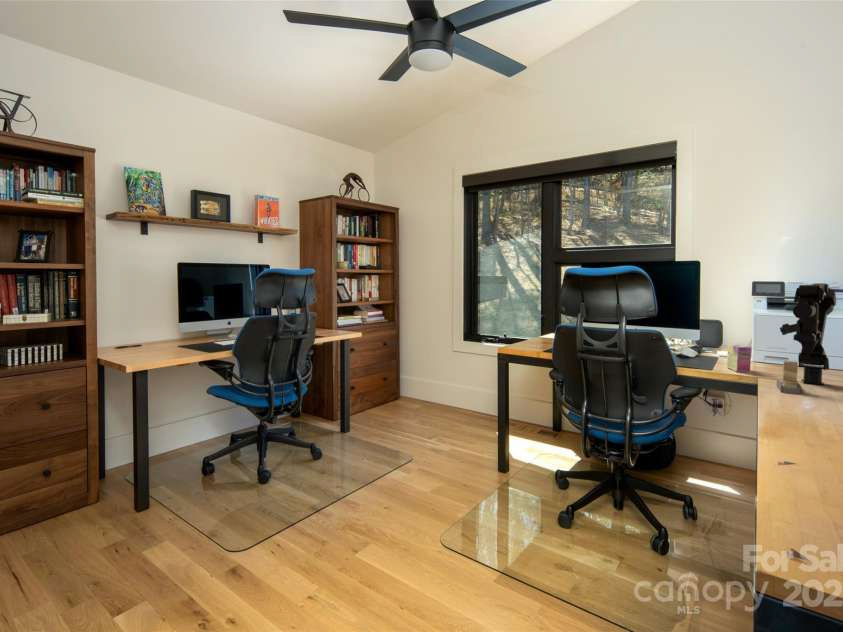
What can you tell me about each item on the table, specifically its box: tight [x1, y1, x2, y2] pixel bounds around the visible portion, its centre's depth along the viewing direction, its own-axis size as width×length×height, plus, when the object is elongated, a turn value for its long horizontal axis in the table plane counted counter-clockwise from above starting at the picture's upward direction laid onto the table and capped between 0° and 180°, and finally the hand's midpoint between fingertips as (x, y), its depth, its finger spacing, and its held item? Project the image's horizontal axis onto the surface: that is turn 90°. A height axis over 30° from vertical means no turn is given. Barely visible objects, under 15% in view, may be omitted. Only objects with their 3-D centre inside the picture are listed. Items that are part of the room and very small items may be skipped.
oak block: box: [781, 360, 799, 387], centre depth 176 cm, size 4×4×9 cm
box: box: [726, 343, 752, 373], centre depth 216 cm, size 10×6×12 cm, turn 168°
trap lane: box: [776, 378, 803, 395], centre depth 177 cm, size 12×6×3 cm, turn 149°
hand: (806, 357), depth 179 cm, fingers closed
